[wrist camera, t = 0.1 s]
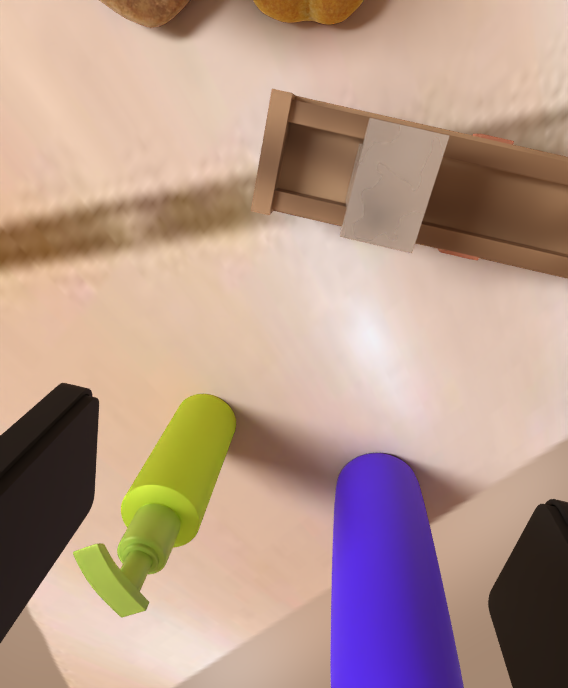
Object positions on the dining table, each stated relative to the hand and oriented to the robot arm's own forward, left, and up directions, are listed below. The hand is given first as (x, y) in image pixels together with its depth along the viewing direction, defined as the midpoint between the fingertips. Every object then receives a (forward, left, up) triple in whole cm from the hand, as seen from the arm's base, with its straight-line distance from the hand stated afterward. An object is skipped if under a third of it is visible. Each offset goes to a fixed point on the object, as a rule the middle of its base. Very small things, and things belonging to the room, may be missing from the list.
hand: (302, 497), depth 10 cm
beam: (-5, +8, -31) cm, 32 cm away
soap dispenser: (+20, -8, -31) cm, 38 cm away
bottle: (+23, +10, -31) cm, 40 cm away
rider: (-5, +2, -25) cm, 26 cm away
